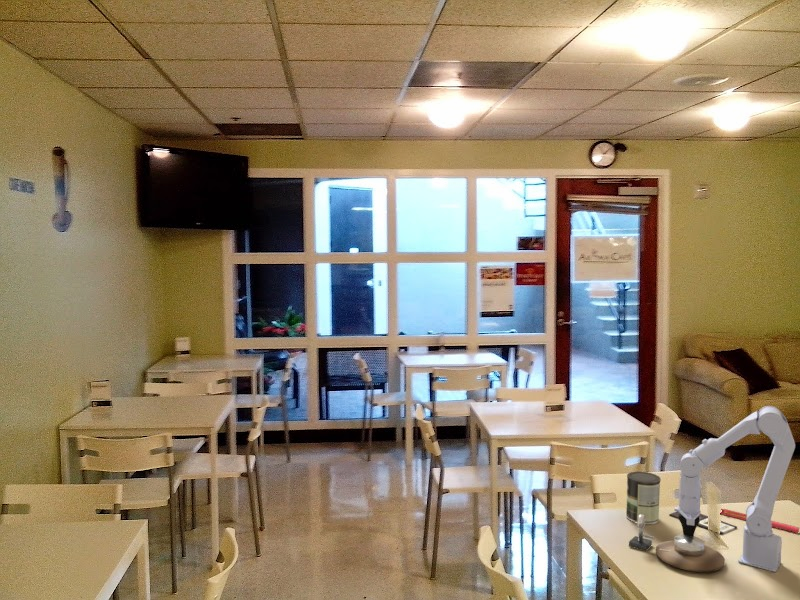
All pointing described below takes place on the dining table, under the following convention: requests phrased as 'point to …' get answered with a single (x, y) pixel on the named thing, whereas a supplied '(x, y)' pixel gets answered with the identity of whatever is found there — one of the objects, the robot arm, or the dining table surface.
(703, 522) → the chocolate bar
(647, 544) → the trophy
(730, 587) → the dining table surface
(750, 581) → the dining table surface
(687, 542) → the cover
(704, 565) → the turntable
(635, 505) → the coffee can
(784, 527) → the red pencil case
